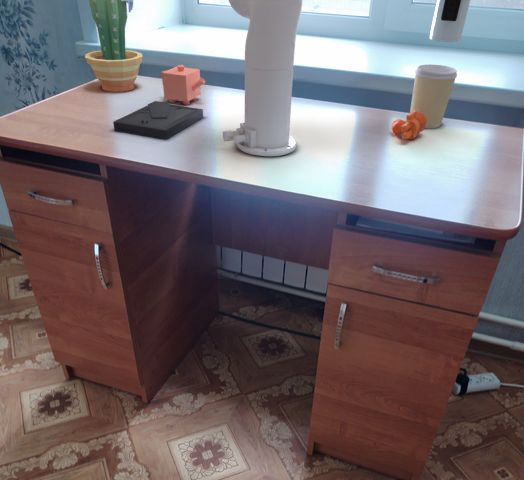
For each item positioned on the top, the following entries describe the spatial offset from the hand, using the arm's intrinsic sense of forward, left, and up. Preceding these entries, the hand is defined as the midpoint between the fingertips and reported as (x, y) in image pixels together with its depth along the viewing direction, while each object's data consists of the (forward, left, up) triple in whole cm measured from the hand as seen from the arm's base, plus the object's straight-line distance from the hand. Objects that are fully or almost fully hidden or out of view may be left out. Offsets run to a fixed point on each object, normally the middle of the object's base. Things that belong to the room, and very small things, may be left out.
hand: (449, 17), depth 110 cm
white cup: (0, 0, -4) cm, 4 cm away
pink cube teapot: (-48, +39, -22) cm, 66 cm away
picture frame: (-60, +23, -22) cm, 68 cm away
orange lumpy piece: (-11, -6, -22) cm, 26 cm away
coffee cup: (0, 0, -22) cm, 22 cm away
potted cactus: (-61, +58, -22) cm, 87 cm away
